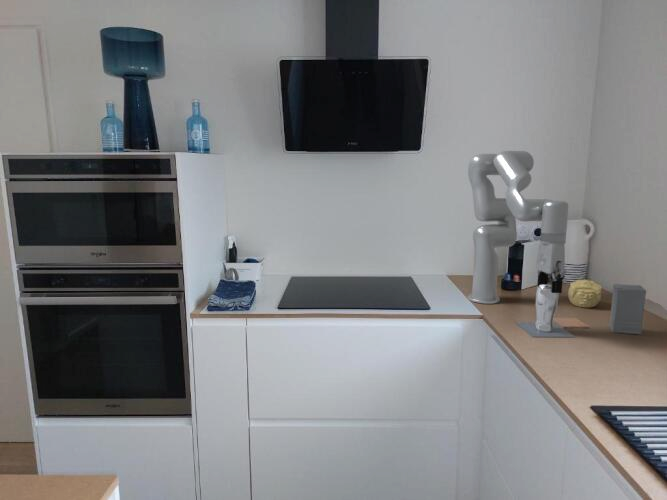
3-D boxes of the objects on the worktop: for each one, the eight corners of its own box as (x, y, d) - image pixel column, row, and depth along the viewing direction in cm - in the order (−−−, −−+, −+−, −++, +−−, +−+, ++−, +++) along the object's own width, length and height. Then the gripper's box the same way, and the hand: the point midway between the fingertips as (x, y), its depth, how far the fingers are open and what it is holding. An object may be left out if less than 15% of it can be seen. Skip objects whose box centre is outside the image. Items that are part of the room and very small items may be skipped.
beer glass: (557, 333, 150) (562, 289, 147) (535, 331, 151) (539, 288, 148) (552, 326, 157) (556, 284, 154) (530, 324, 158) (534, 283, 155)
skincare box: (635, 329, 155) (641, 284, 152) (641, 336, 148) (648, 289, 146) (607, 326, 158) (612, 282, 155) (612, 333, 151) (618, 287, 148)
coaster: (550, 319, 164) (551, 317, 164) (575, 319, 164) (575, 318, 164) (563, 328, 155) (563, 326, 155) (589, 328, 155) (589, 326, 155)
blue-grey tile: (515, 322, 161) (515, 322, 161) (554, 322, 161) (554, 322, 161) (532, 337, 147) (532, 336, 147) (575, 337, 147) (575, 336, 147)
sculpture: (568, 307, 178) (571, 281, 176) (565, 299, 189) (568, 274, 187) (601, 311, 174) (604, 284, 172) (596, 303, 185) (599, 277, 183)
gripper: (530, 235, 157) (526, 283, 159) (554, 242, 139) (550, 295, 142) (551, 235, 157) (547, 283, 159) (578, 242, 139) (574, 295, 142)
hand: (549, 289), depth 151 cm, fingers open, 9 cm apart
